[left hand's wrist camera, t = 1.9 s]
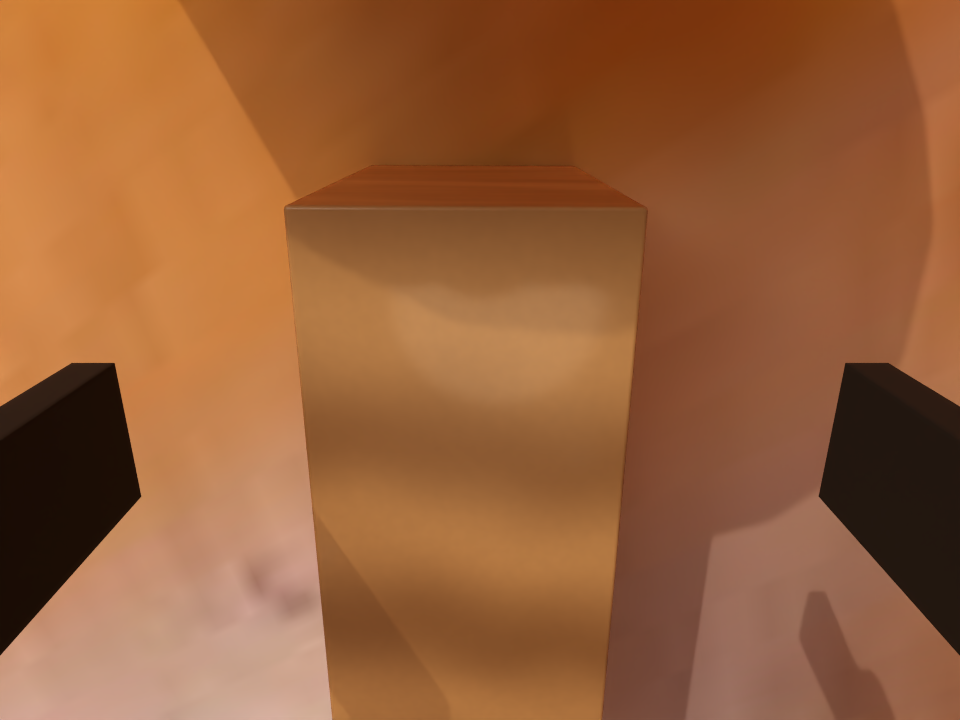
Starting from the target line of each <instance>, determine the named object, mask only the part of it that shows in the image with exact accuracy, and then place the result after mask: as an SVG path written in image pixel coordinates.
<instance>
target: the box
mask: <svg viewBox="0 0 960 720" xmlns="http://www.w3.org/2000/svg"><path fill="white" fill-rule="evenodd" d="M647 214H648V210H647V208H646V207H644V206H643V205H641V204H639V203H637V202H636V201H634V200H632V199H630V198H629V197H627V196H625V195H623V194H622V193H620V192H618V191H617V190H615V189H613V188H611V187H610V186H608V185H606V184H604V183H603V182H601V181H599V180H597V179H596V178H594V177H592V176H591V175H589V174H587V173H585V172H584V171H582V170H580V169H578V168H577V167H575V166H431V165H371V166H369V167H367V168H365V169H363V170H361V171H358V172H356V173H354V174H352V175H350V176H348V177H346V178H344V179H341V180H339V181H337V182H335V183H333V184H331V185H329V186H327V187H324V188H322V189H320V190H318V191H316V192H314V193H312V194H310V195H307V196H305V197H303V198H301V199H299V200H297V201H295V202H293V203H290V204H288V205H286V206H285V208H284V215H285V225H286V236H287V246H288V257H289V268H290V278H291V289H292V299H293V310H294V320H295V331H296V341H297V352H298V362H299V373H300V383H301V394H302V404H303V415H304V425H305V436H306V446H307V457H308V467H309V478H310V488H311V499H312V509H313V520H314V531H315V541H316V552H317V562H318V573H319V583H320V594H321V604H322V615H323V625H324V636H325V646H326V657H327V667H328V678H329V688H330V699H331V709H332V720H602V714H603V703H604V692H605V681H606V670H607V659H608V648H609V637H610V626H611V614H612V603H613V592H614V581H615V570H616V559H617V548H618V537H619V525H620V514H621V503H622V492H623V481H624V470H625V459H626V448H627V437H628V425H629V414H630V403H631V392H632V381H633V370H634V359H635V348H636V337H637V325H638V314H639V303H640V292H641V281H642V270H643V259H644V248H645V237H646V225H647Z"/></svg>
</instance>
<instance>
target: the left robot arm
mask: <svg viewBox="0 0 960 720" xmlns="http://www.w3.org/2000/svg"><path fill="white" fill-rule="evenodd" d="M140 497H141V493H140V488H139V483H138V478H137V473H136V468H135V463H134V458H133V453H132V448H131V443H130V438H129V433H128V428H127V423H126V418H125V413H124V408H123V403H122V398H121V393H120V388H119V383H118V378H117V373H116V368H115V363H71V364H70V365H68V366H66V367H65V368H63V369H61V370H60V371H58V372H56V373H55V374H53V375H51V376H50V377H48V378H47V379H45V380H43V381H42V382H40V383H38V384H37V385H35V386H33V387H32V388H30V389H28V390H27V391H25V392H24V393H22V394H20V395H19V396H17V397H15V398H14V399H12V400H10V401H9V402H7V403H5V404H4V405H2V406H0V655H1V654H2V653H3V652H4V651H5V649H6V648H7V647H8V646H9V645H10V644H11V643H12V642H13V640H14V639H15V638H16V637H17V636H18V635H19V634H20V633H21V631H22V630H23V629H24V628H25V627H26V626H27V625H28V624H29V622H30V621H31V620H32V619H33V618H34V617H35V616H36V615H37V613H38V612H39V611H40V610H41V609H42V608H43V607H44V606H45V604H46V603H47V602H48V601H49V600H50V599H51V598H52V596H53V595H54V594H55V593H56V592H57V591H58V590H59V589H60V587H61V586H62V585H63V584H64V583H65V582H66V581H67V580H68V578H69V577H70V576H71V575H72V574H73V573H74V572H75V571H76V569H77V568H78V567H79V566H80V565H81V564H82V563H83V562H84V560H85V559H86V558H87V557H88V556H89V555H90V554H91V553H92V551H93V550H94V549H95V548H96V547H97V546H98V545H99V544H100V542H101V541H102V540H103V539H104V538H105V537H106V536H107V535H108V533H109V532H110V531H111V530H112V529H113V528H114V527H115V525H116V524H117V523H118V522H119V521H120V520H121V519H122V518H123V516H124V515H125V514H126V513H127V512H128V511H129V510H130V509H131V507H132V506H133V505H134V504H135V503H136V502H137V501H138V500H139V498H140ZM819 497H820V498H821V500H822V501H823V502H824V503H825V504H826V505H827V506H828V507H829V509H830V510H831V511H832V512H833V513H834V514H835V515H836V516H837V518H838V519H839V520H840V521H841V522H842V523H843V524H844V525H845V527H846V528H847V529H848V530H849V531H850V532H851V533H852V535H853V536H854V537H855V538H856V539H857V540H858V541H859V542H860V544H861V545H862V546H863V547H864V548H865V549H866V550H867V551H868V553H869V554H870V555H871V556H872V557H873V558H874V559H875V560H876V562H877V563H878V564H879V565H880V566H881V567H882V568H883V569H884V571H885V572H886V573H887V574H888V575H889V576H890V577H891V578H892V580H893V581H894V582H895V583H896V584H897V585H898V586H899V587H900V589H901V590H902V591H903V592H904V593H905V594H906V595H907V596H908V598H909V599H910V600H911V601H912V602H913V603H914V604H915V606H916V607H917V608H918V609H919V610H920V611H921V612H922V613H923V615H924V616H925V617H926V618H927V619H928V620H929V621H930V622H931V624H932V625H933V626H934V627H935V628H936V629H937V630H938V631H939V633H940V634H941V635H942V636H943V637H944V638H945V639H946V640H947V642H948V643H949V644H950V645H951V646H952V647H953V648H954V649H955V651H956V652H957V653H958V654H959V655H960V406H958V405H956V404H955V403H953V402H951V401H950V400H948V399H946V398H945V397H943V396H941V395H940V394H938V393H936V392H935V391H933V390H932V389H930V388H928V387H927V386H925V385H923V384H922V383H920V382H918V381H917V380H915V379H913V378H912V377H910V376H909V375H907V374H905V373H904V372H902V371H900V370H899V369H897V368H895V367H894V366H892V365H890V364H889V363H845V368H844V373H843V378H842V383H841V388H840V393H839V398H838V403H837V408H836V413H835V418H834V423H833V428H832V433H831V438H830V443H829V448H828V453H827V458H826V463H825V468H824V473H823V478H822V483H821V488H820V493H819Z"/></svg>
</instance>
